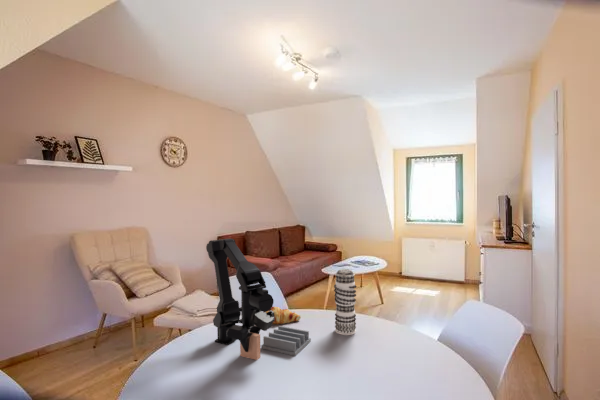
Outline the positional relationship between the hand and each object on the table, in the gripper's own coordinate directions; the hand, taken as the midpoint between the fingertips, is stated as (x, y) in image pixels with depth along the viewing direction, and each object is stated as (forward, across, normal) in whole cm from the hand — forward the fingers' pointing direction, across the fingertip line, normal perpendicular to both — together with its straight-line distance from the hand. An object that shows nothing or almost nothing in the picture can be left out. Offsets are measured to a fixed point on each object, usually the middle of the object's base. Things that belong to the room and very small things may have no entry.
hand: (250, 349), depth 113 cm
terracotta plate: (+3, 0, 0) cm, 3 cm away
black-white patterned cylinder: (+3, +35, -23) cm, 42 cm away
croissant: (+3, +32, +8) cm, 33 cm away
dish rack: (+2, +14, -7) cm, 15 cm away
